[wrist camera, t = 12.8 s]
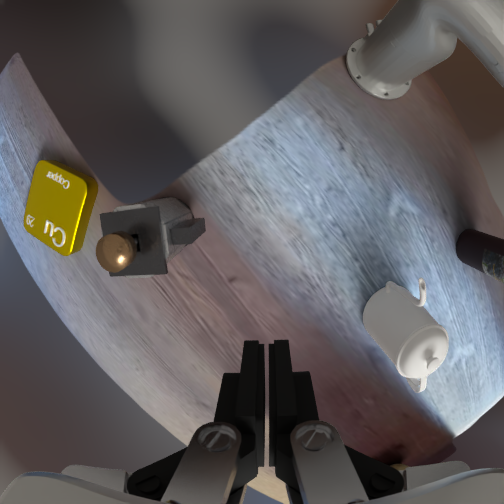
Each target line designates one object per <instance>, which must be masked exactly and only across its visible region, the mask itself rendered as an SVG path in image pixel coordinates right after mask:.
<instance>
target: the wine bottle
mask: <svg viewBox="0 0 504 504" xmlns="http://www.w3.org/2000/svg"><path fill="white" fill-rule="evenodd" d="M456 251H457V256H458V258H459V259H460V260H461V261H462V262H463V263H465V264H467V265H469V266H471V267H473V268H475V269H477V270H479V271H481V272H483V273H485V274H487V275H489V276H491V277H493V278H494V279H496V280H498V281H500V282H502V283H504V239H501V238H498V237H495V236H492V235H489V234H486V233H483V232H479V231H476V230H473V229H467V230H465V231H464V232H463V233H462V234H461V235H460V237H459V239H458V241H457V247H456Z"/></svg>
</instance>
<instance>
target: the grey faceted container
mask: <svg viewBox="0 0 504 504" xmlns="http://www.w3.org/2000/svg"><path fill="white" fill-rule="evenodd" d="M100 220H101V227H102V231H101V232H102V237H104V236H106V235H108V234H111V233H113V232H116V231H124V232H127V233H128V234H130V235H131V236H132V238H135V237H137V234H138V237H139V244H137V245H136V246H137V255H136V258H135V260H134V261H133V262H132V263H131V264H130V265H128V266H127V267H125V268H124V269H122V270H121V271H119V272H115V273H114V272H109V274H110V276H125V277H127V278H145V277H153V276H154V275H159V274H167V273H168V270H167V263H168V262H170V261H171V260H172V259H173V258H174V257H175V256H176V255H177V254H178V253H179V252H181V250H182V249H183V248H184V247H185V246H186V245H187V244H192V243H193V242H194V241H195V240H196V239H197V238H198V237H199V236H201V235H202V234H203V233H204V232H205V231H206V230H205V219H204V218H196V219H194V216H193V214H192V212H191V210H190V208H189V207H188V206H187V205H186V204H185V203H184V202H182V201H181V200H179V199H176V198H174V197H165V198H160V199H154V200H149V201H144V202H139V203H134V204H129V205H125V206H120V207H116V208H115V209H114V211H113V212H109V213H102V214H100Z"/></svg>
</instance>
